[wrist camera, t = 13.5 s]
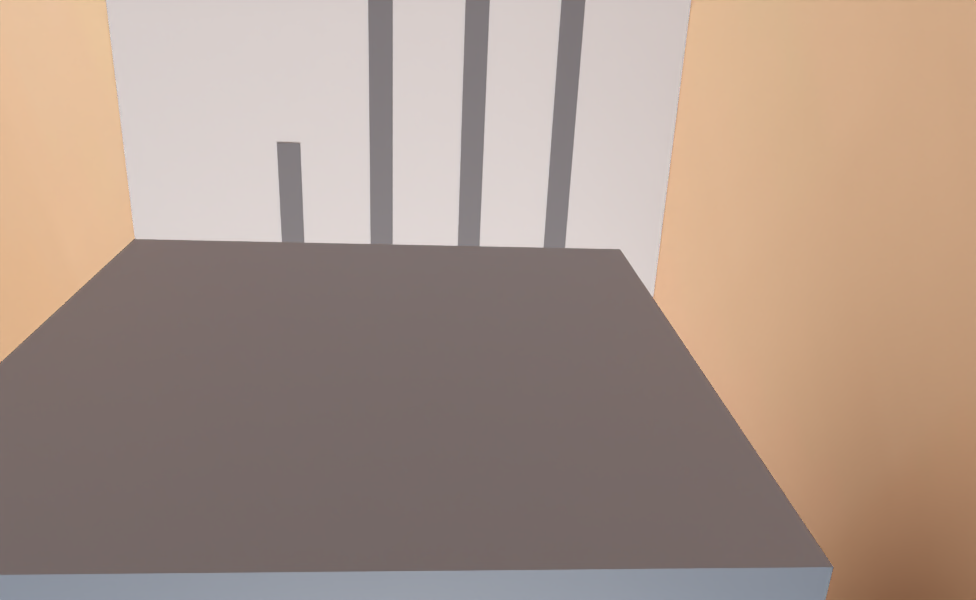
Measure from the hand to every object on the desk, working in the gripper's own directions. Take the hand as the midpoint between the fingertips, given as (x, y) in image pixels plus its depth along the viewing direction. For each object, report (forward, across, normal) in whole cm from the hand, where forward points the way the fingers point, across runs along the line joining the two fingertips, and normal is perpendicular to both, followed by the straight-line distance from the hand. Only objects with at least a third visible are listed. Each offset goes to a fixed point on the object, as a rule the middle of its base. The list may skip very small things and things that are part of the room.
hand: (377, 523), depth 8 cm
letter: (+12, 0, 0) cm, 12 cm away
